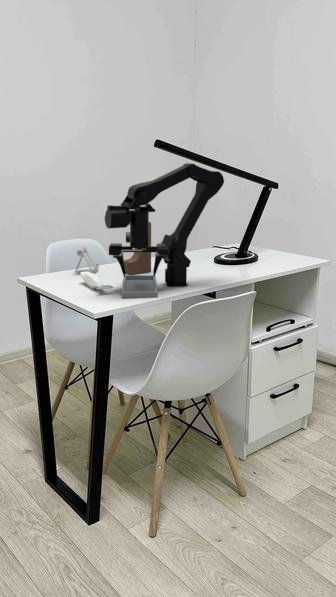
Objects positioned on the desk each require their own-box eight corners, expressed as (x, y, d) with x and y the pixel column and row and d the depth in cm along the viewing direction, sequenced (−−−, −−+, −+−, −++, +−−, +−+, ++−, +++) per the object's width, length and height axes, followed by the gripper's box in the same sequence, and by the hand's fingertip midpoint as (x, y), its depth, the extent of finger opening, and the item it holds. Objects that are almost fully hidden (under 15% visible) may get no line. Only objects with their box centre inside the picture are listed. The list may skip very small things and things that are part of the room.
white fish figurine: (92, 281, 186) (92, 269, 185) (113, 293, 171) (113, 281, 170) (76, 283, 184) (76, 271, 183) (97, 295, 169) (96, 283, 168)
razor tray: (155, 281, 188) (155, 275, 187) (157, 298, 166) (157, 292, 165) (123, 281, 187) (123, 275, 187) (121, 298, 165) (121, 292, 165)
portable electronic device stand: (96, 273, 198) (95, 250, 196) (74, 273, 198) (73, 250, 196) (99, 268, 207) (98, 245, 204) (77, 268, 207) (77, 245, 204)
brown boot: (129, 275, 196) (129, 223, 191) (123, 272, 199) (122, 222, 195) (151, 272, 201) (151, 222, 196) (145, 269, 204) (145, 220, 199)
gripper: (168, 223, 179) (167, 270, 184) (110, 223, 178) (110, 270, 183) (170, 228, 169) (169, 278, 173) (108, 228, 168) (109, 278, 172)
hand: (139, 276), depth 175 cm, fingers open, 9 cm apart
